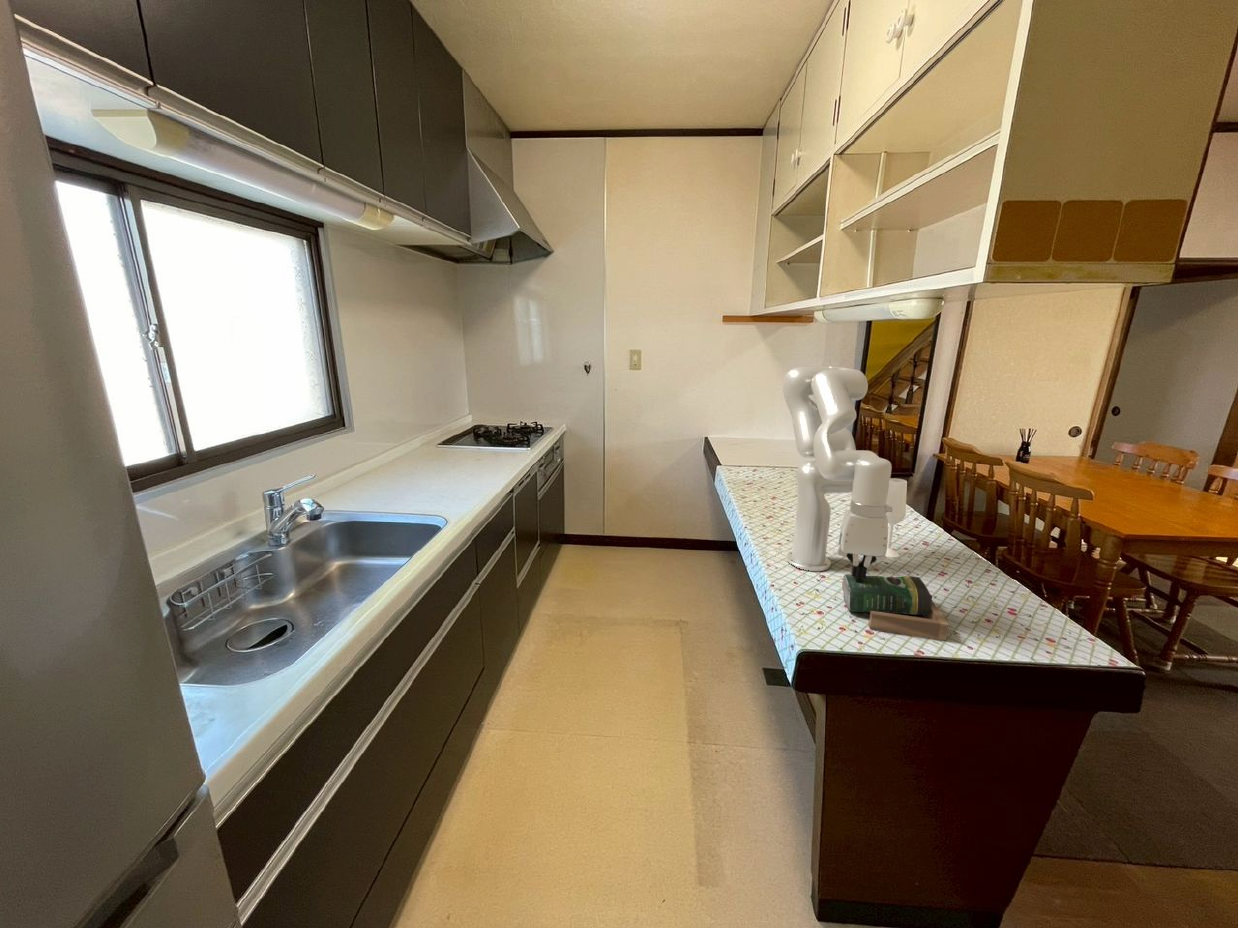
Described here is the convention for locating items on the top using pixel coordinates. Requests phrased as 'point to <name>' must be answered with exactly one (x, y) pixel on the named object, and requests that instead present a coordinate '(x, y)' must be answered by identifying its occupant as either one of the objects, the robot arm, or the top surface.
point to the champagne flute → (895, 508)
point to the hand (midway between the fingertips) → (857, 579)
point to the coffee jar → (887, 594)
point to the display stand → (911, 624)
